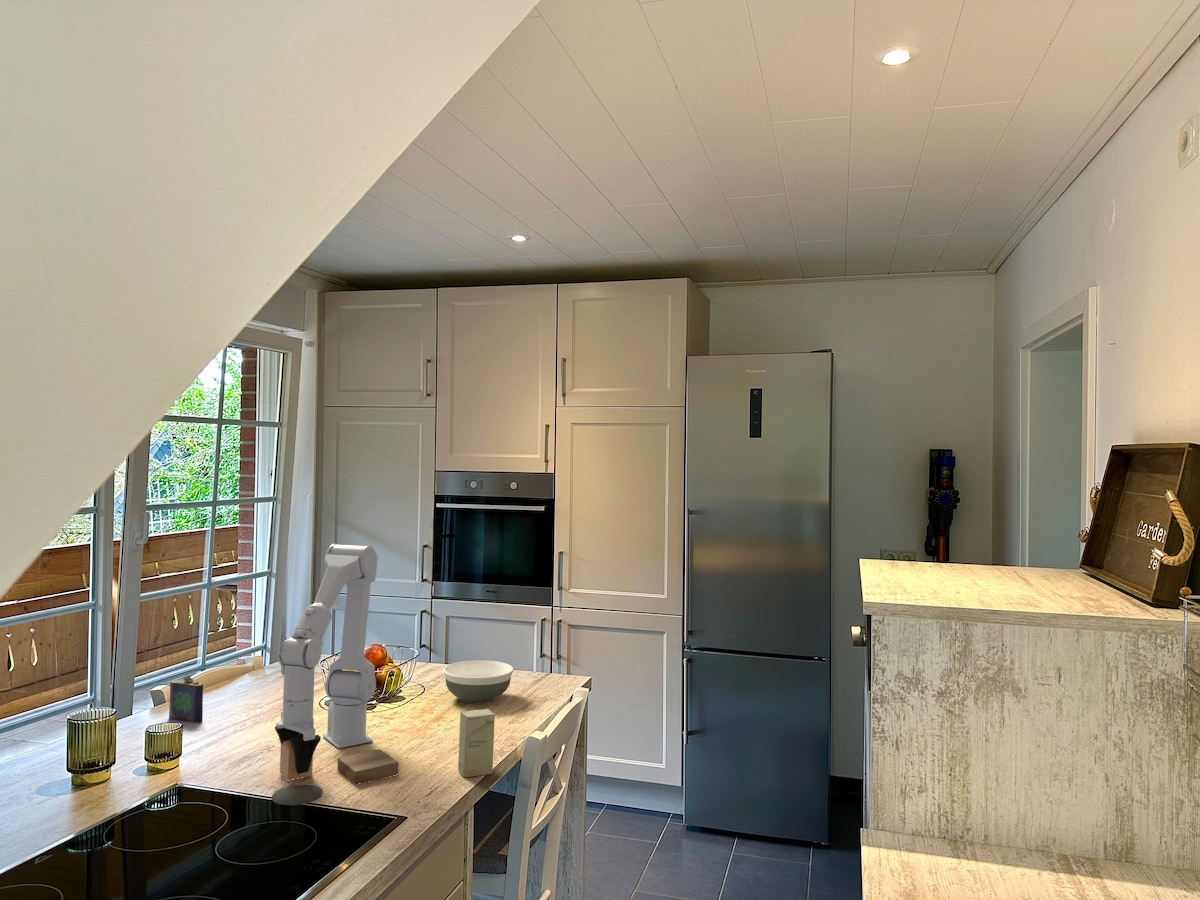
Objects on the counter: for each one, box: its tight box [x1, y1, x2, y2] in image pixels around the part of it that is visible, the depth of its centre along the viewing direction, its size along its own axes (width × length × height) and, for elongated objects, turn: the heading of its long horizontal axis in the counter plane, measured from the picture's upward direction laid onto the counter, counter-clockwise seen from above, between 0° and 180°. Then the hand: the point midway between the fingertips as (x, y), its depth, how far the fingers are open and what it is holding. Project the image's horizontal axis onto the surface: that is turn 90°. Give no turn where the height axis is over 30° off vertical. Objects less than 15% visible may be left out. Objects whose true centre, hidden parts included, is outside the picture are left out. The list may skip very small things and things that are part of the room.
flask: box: [168, 674, 204, 724], centre depth 194 cm, size 9×3×11 cm, turn 71°
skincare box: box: [457, 708, 496, 778], centre depth 167 cm, size 6×4×12 cm
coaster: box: [271, 783, 324, 806], centre depth 153 cm, size 9×9×1 cm
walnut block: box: [337, 749, 399, 786], centre depth 165 cm, size 9×9×3 cm
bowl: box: [442, 659, 514, 705], centre depth 217 cm, size 19×19×8 cm
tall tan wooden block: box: [279, 740, 314, 781], centre depth 163 cm, size 5×5×6 cm
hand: (296, 766), depth 163 cm, fingers open, 7 cm apart
